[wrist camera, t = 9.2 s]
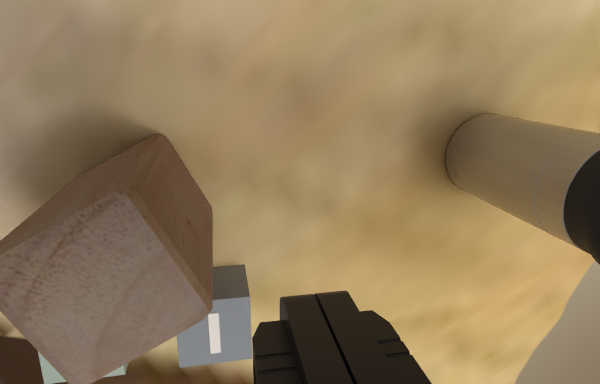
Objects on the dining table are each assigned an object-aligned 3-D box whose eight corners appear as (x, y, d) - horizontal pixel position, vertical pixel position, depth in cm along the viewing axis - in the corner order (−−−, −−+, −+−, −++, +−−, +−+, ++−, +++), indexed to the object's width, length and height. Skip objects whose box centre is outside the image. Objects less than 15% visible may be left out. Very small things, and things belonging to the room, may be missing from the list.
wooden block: (216, 211, 45) (219, 318, 26) (132, 258, 45) (73, 400, 26) (163, 128, 41) (122, 182, 23) (71, 178, 41) (-47, 275, 22)
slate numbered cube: (244, 264, 47) (249, 297, 40) (246, 320, 49) (252, 361, 43) (177, 269, 46) (171, 305, 39) (182, 327, 48) (177, 370, 41)
